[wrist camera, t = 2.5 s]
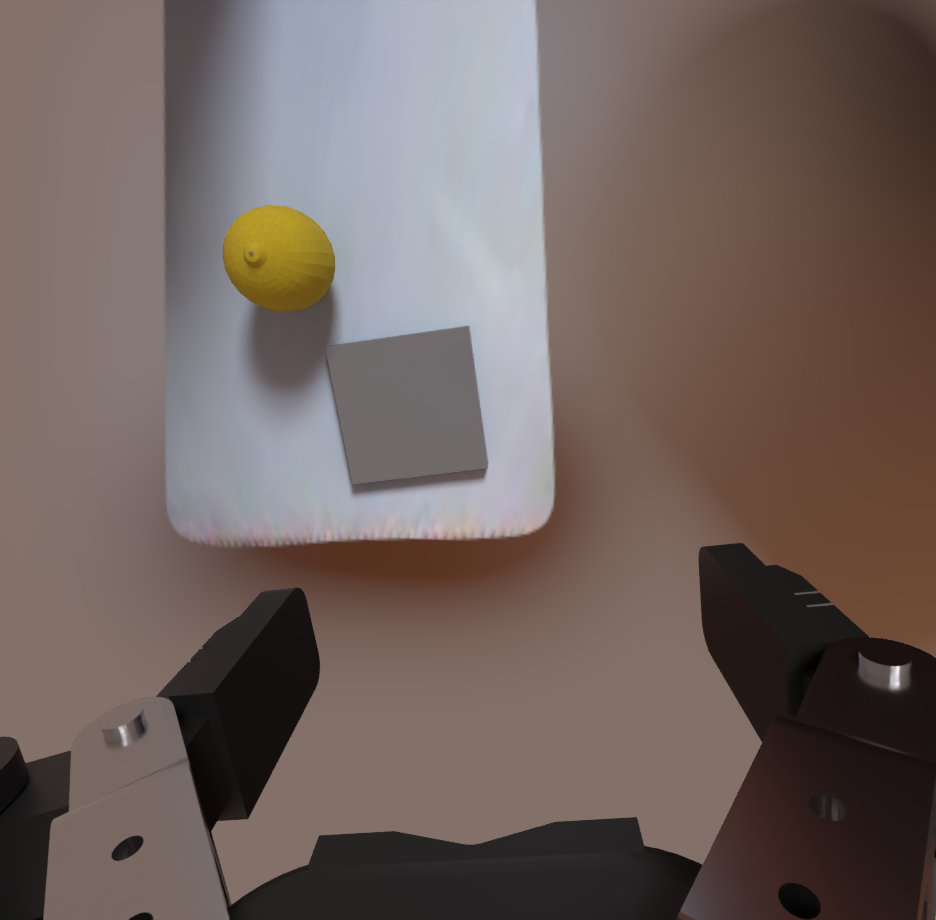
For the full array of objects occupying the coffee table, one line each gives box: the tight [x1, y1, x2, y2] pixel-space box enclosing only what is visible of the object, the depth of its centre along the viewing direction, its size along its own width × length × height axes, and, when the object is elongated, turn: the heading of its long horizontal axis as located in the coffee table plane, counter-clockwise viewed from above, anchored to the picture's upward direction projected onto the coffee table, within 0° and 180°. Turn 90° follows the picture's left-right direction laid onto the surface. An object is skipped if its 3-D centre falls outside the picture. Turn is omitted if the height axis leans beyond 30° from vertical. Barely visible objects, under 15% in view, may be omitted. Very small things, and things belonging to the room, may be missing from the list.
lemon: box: [223, 205, 335, 312], centre depth 32 cm, size 6×6×8 cm
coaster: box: [325, 326, 488, 484], centre depth 37 cm, size 9×9×1 cm
